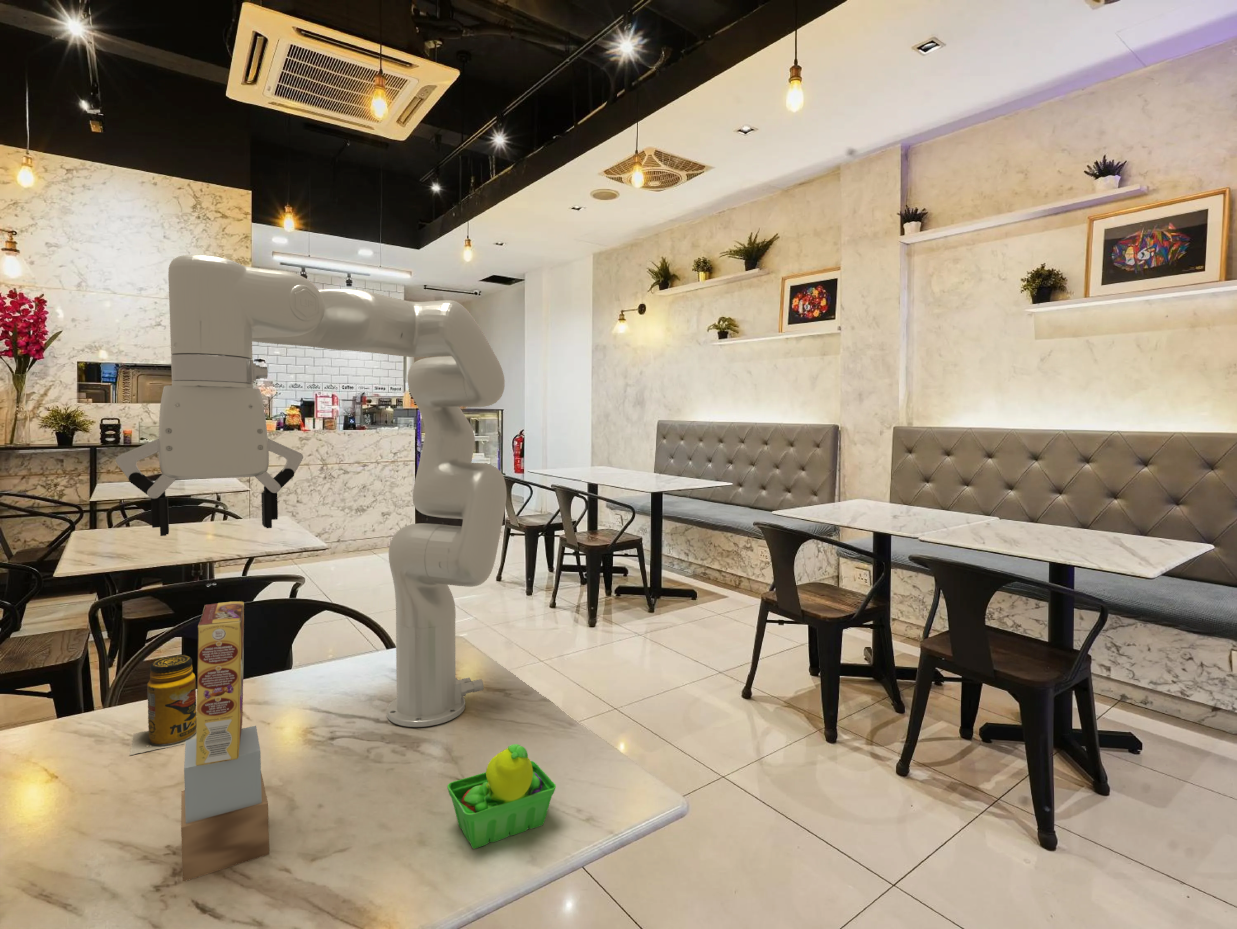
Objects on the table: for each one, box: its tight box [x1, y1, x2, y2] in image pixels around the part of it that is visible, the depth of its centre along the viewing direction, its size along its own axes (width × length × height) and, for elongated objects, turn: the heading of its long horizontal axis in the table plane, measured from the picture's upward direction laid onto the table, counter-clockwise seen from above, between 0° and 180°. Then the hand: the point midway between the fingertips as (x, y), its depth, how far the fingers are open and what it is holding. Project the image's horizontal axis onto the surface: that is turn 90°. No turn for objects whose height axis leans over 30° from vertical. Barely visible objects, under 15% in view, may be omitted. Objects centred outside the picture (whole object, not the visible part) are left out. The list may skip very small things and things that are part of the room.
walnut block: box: [180, 772, 270, 882], centre depth 73 cm, size 8×8×6 cm
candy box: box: [196, 601, 245, 766], centre depth 72 cm, size 9×4×15 cm, turn 28°
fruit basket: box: [446, 743, 557, 850], centre depth 76 cm, size 11×9×11 cm
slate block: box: [183, 725, 262, 823], centre depth 72 cm, size 7×7×6 cm
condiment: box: [129, 655, 197, 756], centre depth 97 cm, size 7×8×12 cm
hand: (217, 530), depth 71 cm, fingers open, 9 cm apart
